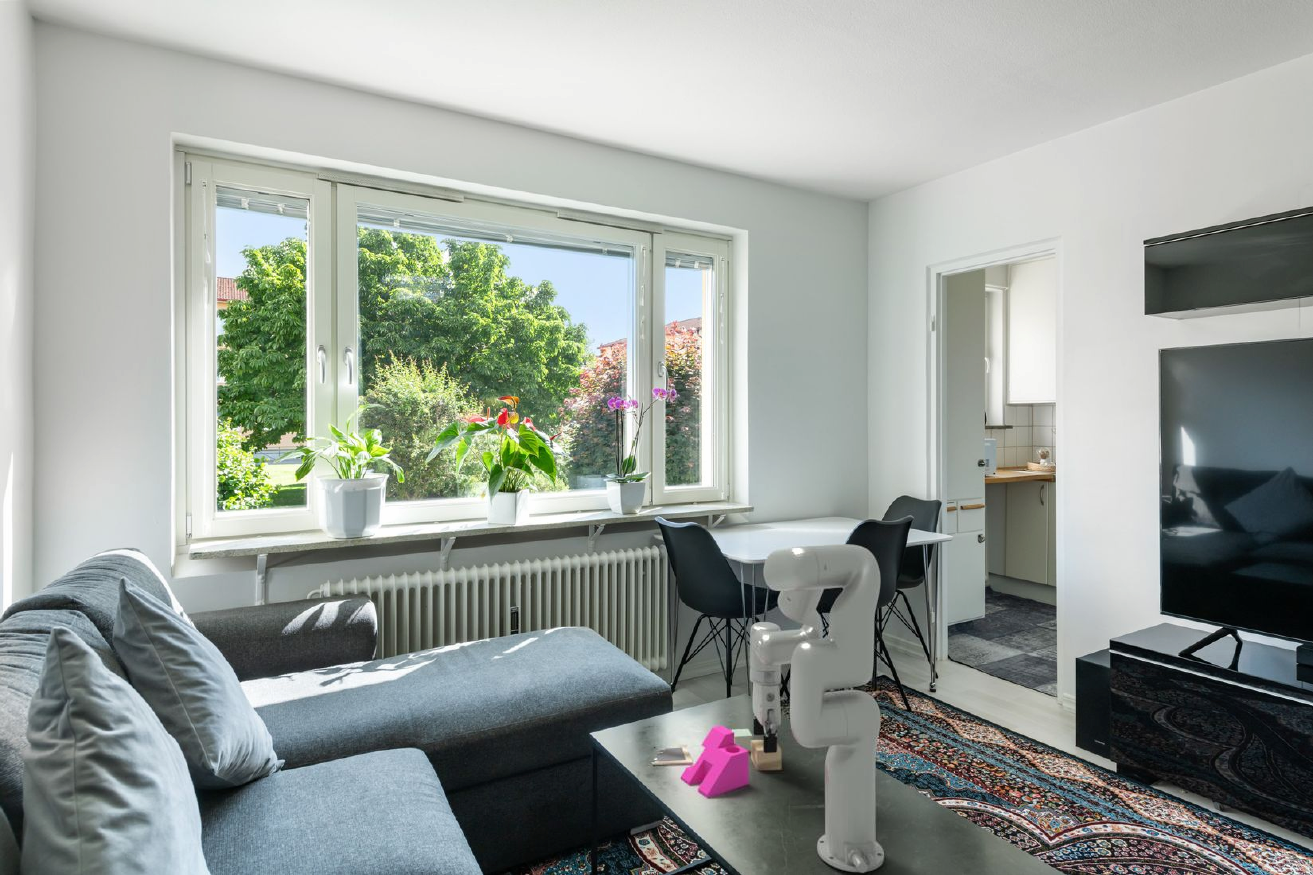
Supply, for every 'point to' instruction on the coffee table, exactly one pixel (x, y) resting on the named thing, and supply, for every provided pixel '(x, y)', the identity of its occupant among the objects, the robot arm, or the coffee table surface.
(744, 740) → the sage cube
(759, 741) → the oak block
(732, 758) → the bracket
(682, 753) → the birch board
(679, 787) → the coffee table surface
